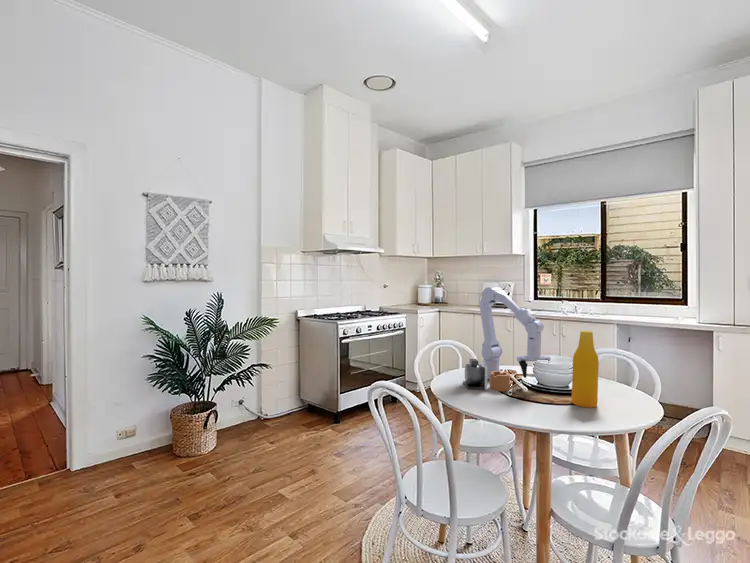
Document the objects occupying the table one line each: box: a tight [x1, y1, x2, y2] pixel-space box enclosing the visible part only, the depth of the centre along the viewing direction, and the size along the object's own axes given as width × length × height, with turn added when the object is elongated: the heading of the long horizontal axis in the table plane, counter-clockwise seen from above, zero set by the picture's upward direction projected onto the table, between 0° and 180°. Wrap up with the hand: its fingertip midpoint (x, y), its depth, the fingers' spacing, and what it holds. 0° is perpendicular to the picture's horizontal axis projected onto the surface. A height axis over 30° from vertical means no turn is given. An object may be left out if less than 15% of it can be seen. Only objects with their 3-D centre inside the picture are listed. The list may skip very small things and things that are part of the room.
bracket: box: [489, 370, 518, 392], centre depth 189 cm, size 18×8×7 cm, turn 142°
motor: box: [462, 358, 488, 391], centre depth 188 cm, size 12×8×12 cm, turn 1°
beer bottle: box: [571, 330, 600, 409], centre depth 165 cm, size 9×9×29 cm
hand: (533, 377), depth 188 cm, fingers open, 7 cm apart
